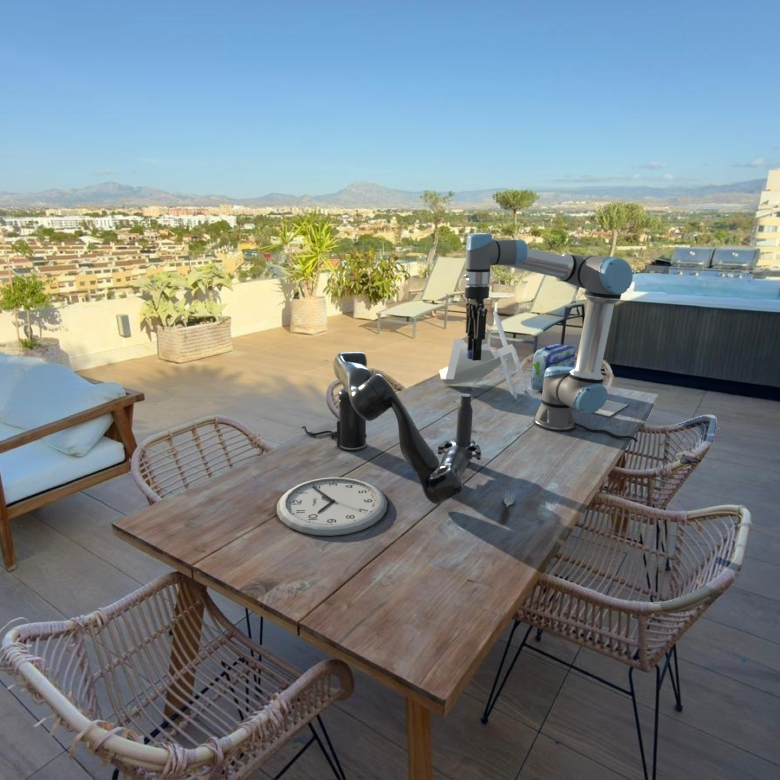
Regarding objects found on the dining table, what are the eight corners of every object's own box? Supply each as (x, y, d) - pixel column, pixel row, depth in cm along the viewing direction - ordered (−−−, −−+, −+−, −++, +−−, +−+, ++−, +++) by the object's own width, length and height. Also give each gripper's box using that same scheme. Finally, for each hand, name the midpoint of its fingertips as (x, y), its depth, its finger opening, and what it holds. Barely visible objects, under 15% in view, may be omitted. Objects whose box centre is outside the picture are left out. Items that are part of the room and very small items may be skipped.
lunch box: (547, 396, 238) (552, 351, 232) (526, 391, 246) (531, 347, 239) (574, 385, 256) (579, 343, 250) (554, 380, 263) (559, 340, 257)
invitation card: (608, 416, 214) (573, 407, 224) (608, 416, 214) (573, 408, 224) (628, 404, 229) (594, 396, 238) (628, 405, 229) (594, 397, 238)
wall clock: (392, 527, 129) (268, 531, 127) (391, 533, 130) (269, 537, 127) (383, 473, 158) (282, 475, 155) (383, 478, 158) (282, 480, 156)
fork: (496, 524, 135) (497, 517, 134) (505, 496, 149) (506, 489, 148) (506, 526, 134) (507, 519, 133) (514, 497, 148) (515, 491, 148)
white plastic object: (461, 429, 252) (437, 405, 227) (444, 352, 274) (420, 323, 250) (535, 404, 240) (518, 377, 215) (510, 326, 262) (492, 293, 237)
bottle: (466, 458, 173) (470, 392, 167) (471, 464, 169) (476, 397, 162) (452, 459, 172) (456, 393, 166) (457, 465, 168) (461, 397, 161)
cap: (464, 358, 169) (465, 351, 168) (470, 355, 172) (470, 348, 172) (477, 360, 167) (477, 353, 166) (482, 357, 170) (482, 350, 169)
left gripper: (479, 454, 153) (487, 433, 168) (431, 447, 157) (443, 427, 172) (477, 477, 155) (485, 454, 170) (430, 470, 159) (442, 448, 175)
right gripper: (457, 282, 170) (454, 352, 177) (475, 288, 154) (471, 365, 161) (479, 282, 171) (475, 351, 178) (499, 288, 155) (494, 364, 162)
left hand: (464, 441), depth 171 cm, fingers closed on bottle, 4 cm apart
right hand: (473, 358), depth 170 cm, fingers closed on cap, 4 cm apart
